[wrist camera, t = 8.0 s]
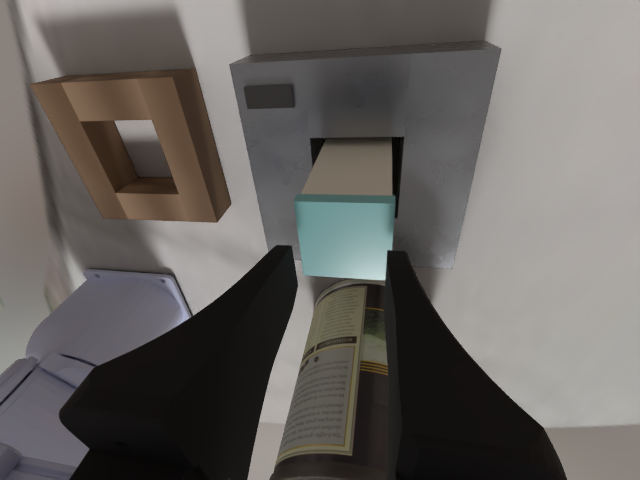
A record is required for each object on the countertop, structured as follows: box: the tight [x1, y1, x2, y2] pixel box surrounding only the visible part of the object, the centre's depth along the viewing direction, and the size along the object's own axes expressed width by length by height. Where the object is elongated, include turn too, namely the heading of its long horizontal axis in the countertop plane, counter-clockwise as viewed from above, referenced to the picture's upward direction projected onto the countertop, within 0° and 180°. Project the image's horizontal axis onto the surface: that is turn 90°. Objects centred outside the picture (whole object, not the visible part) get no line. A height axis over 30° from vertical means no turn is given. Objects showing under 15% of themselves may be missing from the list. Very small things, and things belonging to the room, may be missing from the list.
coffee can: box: [270, 279, 389, 480], centre depth 23 cm, size 10×10×14 cm
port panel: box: [229, 41, 501, 269], centre depth 19 cm, size 12×12×3 cm
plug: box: [293, 137, 395, 280], centre depth 17 cm, size 4×4×9 cm
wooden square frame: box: [30, 69, 231, 223], centre depth 21 cm, size 9×9×2 cm
